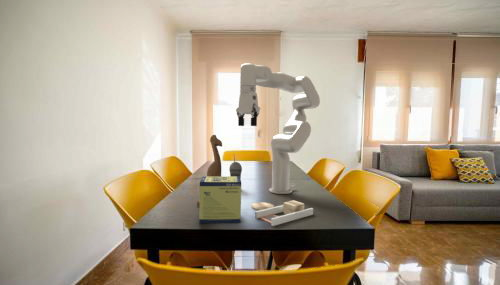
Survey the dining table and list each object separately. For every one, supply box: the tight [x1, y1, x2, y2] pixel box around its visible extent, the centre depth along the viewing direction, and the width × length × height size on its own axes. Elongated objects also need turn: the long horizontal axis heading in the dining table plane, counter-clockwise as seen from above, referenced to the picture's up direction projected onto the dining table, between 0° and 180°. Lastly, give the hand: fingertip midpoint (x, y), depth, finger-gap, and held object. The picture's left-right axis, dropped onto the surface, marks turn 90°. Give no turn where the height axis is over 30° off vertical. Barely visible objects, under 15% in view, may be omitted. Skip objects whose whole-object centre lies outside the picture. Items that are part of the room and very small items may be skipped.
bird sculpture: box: [196, 134, 223, 207], centre depth 117 cm, size 11×12×32 cm
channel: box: [254, 204, 314, 227], centre depth 103 cm, size 22×10×2 cm, turn 127°
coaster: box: [250, 201, 275, 211], centre depth 115 cm, size 10×10×1 cm
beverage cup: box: [229, 154, 243, 179], centre depth 146 cm, size 7×7×20 cm
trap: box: [258, 214, 280, 224], centre depth 99 cm, size 7×8×1 cm
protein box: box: [198, 175, 242, 224], centre depth 99 cm, size 10×16×16 cm
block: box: [282, 199, 305, 215], centre depth 106 cm, size 6×6×5 cm
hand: (247, 125), depth 125 cm, fingers open, 9 cm apart
